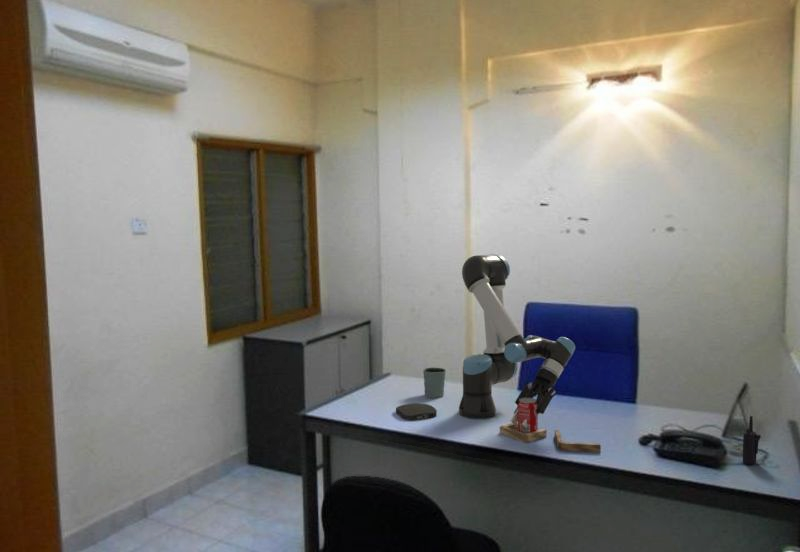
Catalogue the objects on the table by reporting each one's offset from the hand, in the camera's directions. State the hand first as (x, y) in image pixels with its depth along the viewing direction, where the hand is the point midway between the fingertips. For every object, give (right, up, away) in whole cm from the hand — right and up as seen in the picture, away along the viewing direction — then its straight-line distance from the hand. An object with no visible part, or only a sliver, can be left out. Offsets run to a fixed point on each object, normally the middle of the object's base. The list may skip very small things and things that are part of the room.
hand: (518, 424), depth 219 cm
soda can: (+4, -4, +2) cm, 6 cm away
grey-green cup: (-28, 0, +55) cm, 61 cm away
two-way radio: (+69, -6, -27) cm, 74 cm away
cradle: (+15, -5, -11) cm, 19 cm away
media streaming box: (-37, -3, +28) cm, 46 cm away
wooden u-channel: (+2, -4, +2) cm, 5 cm away
